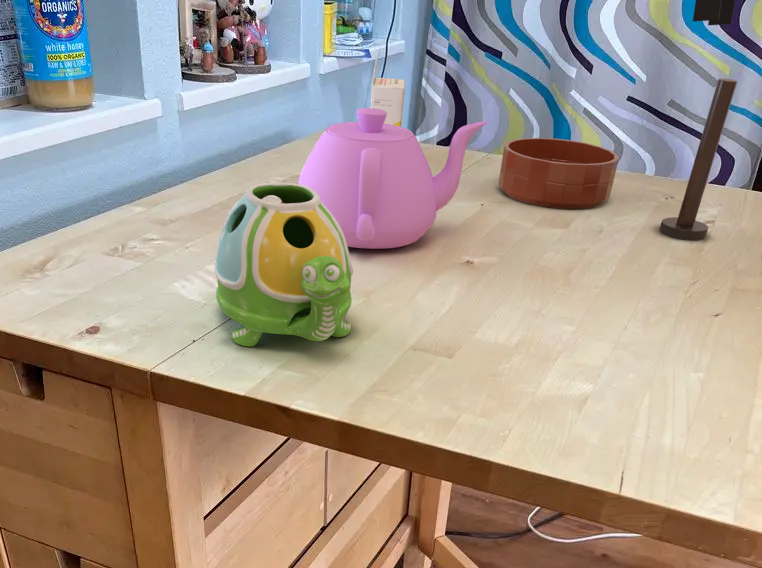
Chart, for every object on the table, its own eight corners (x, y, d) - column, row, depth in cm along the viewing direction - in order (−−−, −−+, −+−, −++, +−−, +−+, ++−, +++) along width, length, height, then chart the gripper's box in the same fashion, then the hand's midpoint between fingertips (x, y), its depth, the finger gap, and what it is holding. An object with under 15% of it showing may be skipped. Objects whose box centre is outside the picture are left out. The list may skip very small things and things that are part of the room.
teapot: (481, 271, 91) (501, 138, 83) (289, 261, 90) (290, 124, 82) (460, 214, 108) (475, 99, 100) (299, 205, 108) (300, 88, 99)
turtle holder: (259, 386, 66) (256, 238, 59) (201, 304, 79) (193, 175, 72) (394, 367, 70) (407, 227, 63) (318, 292, 83) (322, 169, 76)
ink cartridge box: (398, 174, 124) (407, 64, 115) (366, 171, 124) (372, 61, 115) (398, 160, 131) (406, 55, 122) (367, 158, 131) (374, 53, 122)
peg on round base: (694, 227, 110) (739, 77, 99) (713, 241, 106) (763, 85, 94) (652, 225, 110) (693, 74, 99) (669, 239, 105) (715, 82, 94)
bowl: (587, 181, 127) (597, 140, 123) (623, 212, 114) (635, 166, 110) (487, 178, 125) (493, 135, 121) (512, 208, 112) (520, 162, 109)
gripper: (724, -179, 98) (694, 27, 109) (696, -236, 79) (662, 21, 90) (793, -190, 95) (755, 24, 105) (780, -252, 76) (735, 16, 86)
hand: (712, 23), depth 97 cm, fingers open, 13 cm apart
